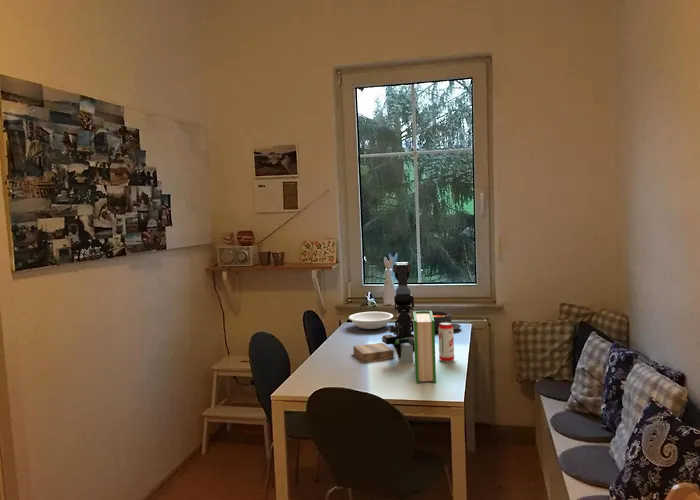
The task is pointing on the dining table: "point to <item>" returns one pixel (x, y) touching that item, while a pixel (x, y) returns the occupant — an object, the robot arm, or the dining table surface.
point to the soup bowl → (371, 319)
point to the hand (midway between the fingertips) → (405, 357)
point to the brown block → (373, 352)
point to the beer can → (446, 342)
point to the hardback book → (424, 346)
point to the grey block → (406, 353)
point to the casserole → (442, 319)
